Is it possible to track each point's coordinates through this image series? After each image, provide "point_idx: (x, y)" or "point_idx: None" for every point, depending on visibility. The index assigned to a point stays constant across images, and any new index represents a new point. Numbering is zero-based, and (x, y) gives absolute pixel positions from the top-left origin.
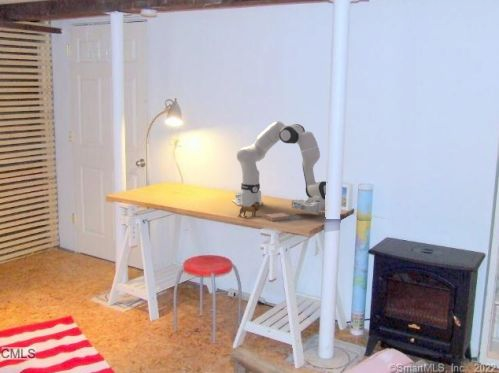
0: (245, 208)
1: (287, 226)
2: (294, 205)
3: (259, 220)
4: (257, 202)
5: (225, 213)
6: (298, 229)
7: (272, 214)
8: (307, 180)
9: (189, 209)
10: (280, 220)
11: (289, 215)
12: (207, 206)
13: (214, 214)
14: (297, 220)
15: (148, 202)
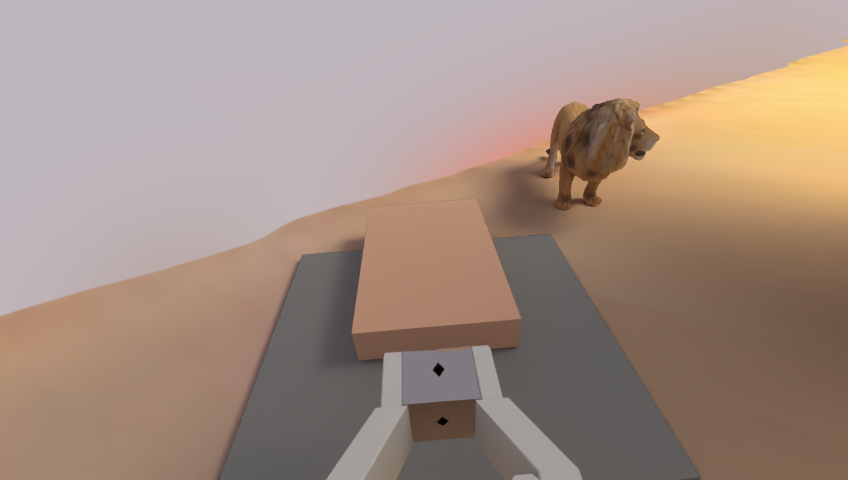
0: (556, 118)
1: (199, 274)
2: (414, 354)
3: None
4: (602, 107)
5: None
6: (63, 305)
7: (465, 230)
8: None
9: (715, 94)
10: (358, 278)
11: None
12: (826, 119)
13: None
14: (245, 420)
15: (809, 60)
